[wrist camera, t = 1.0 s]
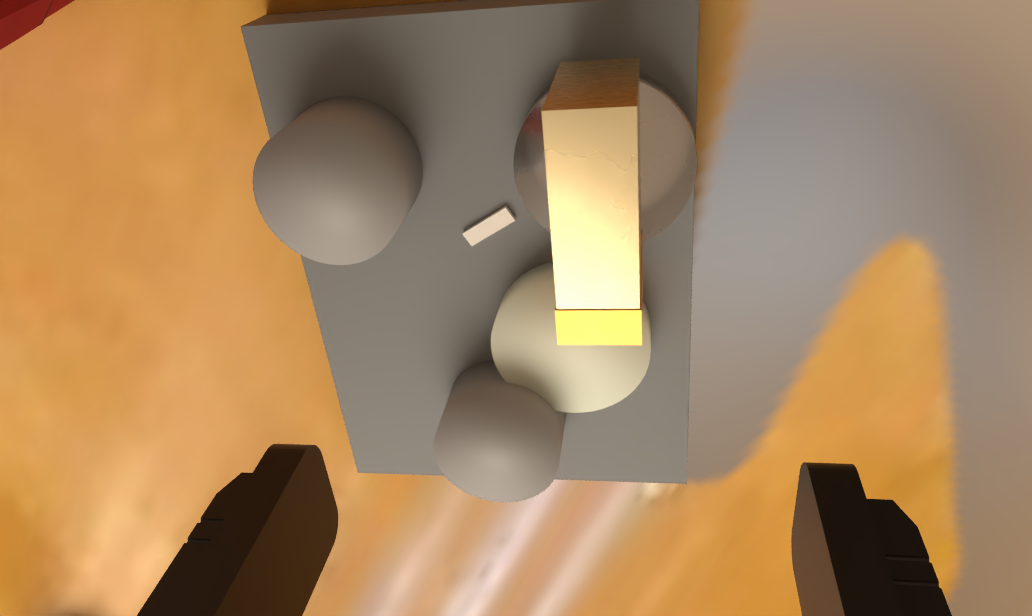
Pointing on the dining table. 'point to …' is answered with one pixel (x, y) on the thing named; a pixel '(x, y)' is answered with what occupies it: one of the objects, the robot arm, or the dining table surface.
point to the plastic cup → (24, 17)
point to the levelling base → (467, 239)
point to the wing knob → (603, 189)
